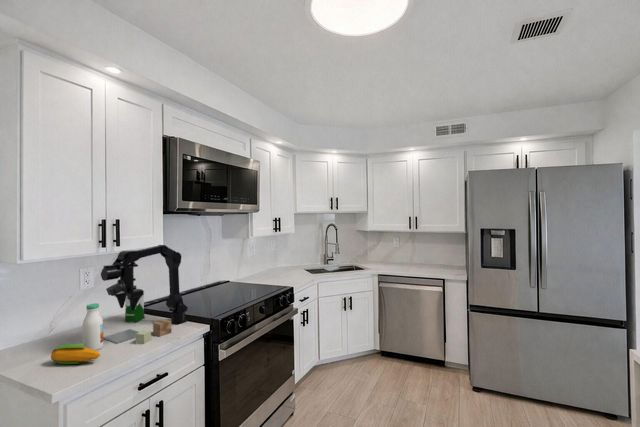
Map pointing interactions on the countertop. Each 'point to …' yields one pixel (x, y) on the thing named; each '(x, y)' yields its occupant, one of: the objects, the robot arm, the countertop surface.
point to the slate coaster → (121, 336)
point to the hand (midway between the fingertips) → (127, 309)
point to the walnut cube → (162, 327)
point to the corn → (73, 354)
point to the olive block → (143, 337)
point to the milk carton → (137, 312)
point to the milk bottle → (92, 328)
